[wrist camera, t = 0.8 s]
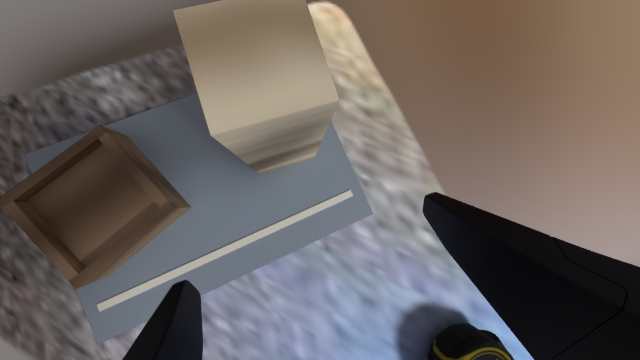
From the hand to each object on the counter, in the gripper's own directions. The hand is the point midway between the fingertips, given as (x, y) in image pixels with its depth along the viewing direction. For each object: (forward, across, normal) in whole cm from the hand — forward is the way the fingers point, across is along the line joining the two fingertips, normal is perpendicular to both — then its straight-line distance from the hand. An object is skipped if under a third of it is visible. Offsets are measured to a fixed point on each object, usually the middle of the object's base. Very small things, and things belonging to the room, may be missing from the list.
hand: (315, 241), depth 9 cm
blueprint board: (+13, +7, +5) cm, 16 cm away
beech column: (+14, 0, +2) cm, 14 cm away
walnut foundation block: (+13, +14, +3) cm, 19 cm away
